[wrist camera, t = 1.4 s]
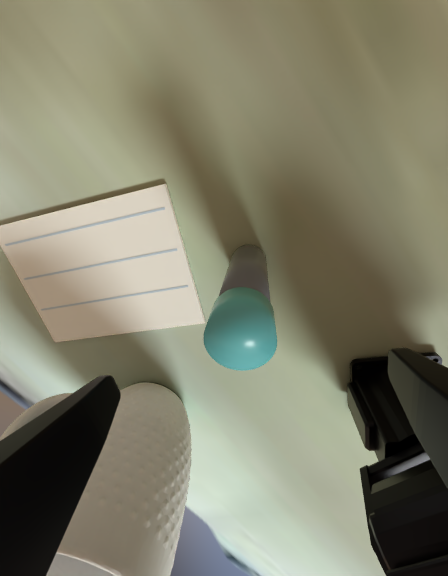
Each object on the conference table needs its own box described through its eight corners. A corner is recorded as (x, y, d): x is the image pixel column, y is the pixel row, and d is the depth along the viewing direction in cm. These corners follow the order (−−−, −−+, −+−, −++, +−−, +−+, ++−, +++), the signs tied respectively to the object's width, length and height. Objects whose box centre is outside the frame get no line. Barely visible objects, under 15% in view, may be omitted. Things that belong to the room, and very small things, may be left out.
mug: (60, 398, 28) (-91, 565, 16) (83, 326, 23) (-103, 483, 11) (180, 454, 29) (126, 647, 17) (225, 396, 24) (193, 604, 12)
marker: (264, 240, 18) (271, 304, 9) (270, 276, 19) (281, 367, 10) (226, 247, 18) (195, 314, 9) (233, 281, 19) (212, 373, 10)
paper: (166, 183, 17) (164, 183, 17) (205, 321, 21) (204, 323, 21) (-6, 227, 20) (-10, 227, 20) (57, 340, 24) (54, 342, 24)
